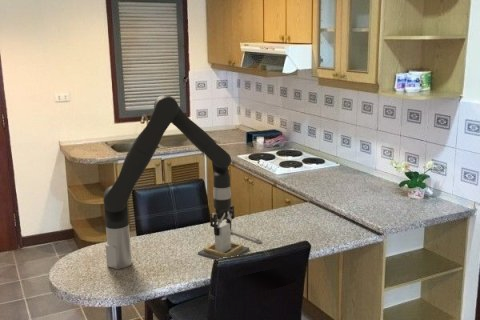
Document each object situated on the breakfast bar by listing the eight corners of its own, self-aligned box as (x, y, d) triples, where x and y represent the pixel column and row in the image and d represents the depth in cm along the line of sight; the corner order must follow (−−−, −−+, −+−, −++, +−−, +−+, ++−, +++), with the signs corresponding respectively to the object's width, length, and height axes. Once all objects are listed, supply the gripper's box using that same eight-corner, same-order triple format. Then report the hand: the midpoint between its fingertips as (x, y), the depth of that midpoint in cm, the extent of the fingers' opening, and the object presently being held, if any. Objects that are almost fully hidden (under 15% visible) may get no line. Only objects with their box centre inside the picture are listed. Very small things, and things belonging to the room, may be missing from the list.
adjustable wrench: (262, 243, 236) (262, 239, 236) (251, 247, 232) (251, 243, 232) (227, 228, 255) (227, 225, 254) (217, 231, 251) (217, 228, 250)
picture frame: (227, 262, 215) (227, 257, 215) (197, 254, 224) (197, 249, 223) (249, 249, 228) (249, 244, 227) (220, 242, 237) (219, 237, 236)
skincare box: (223, 247, 229) (222, 221, 226) (231, 249, 226) (230, 223, 224) (214, 251, 224) (213, 225, 221) (222, 253, 222) (221, 227, 219)
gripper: (219, 202, 212) (220, 239, 216) (239, 193, 224) (239, 229, 227) (204, 199, 217) (205, 235, 220) (225, 191, 228) (225, 225, 232)
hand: (222, 232), depth 224 cm, fingers open, 8 cm apart
